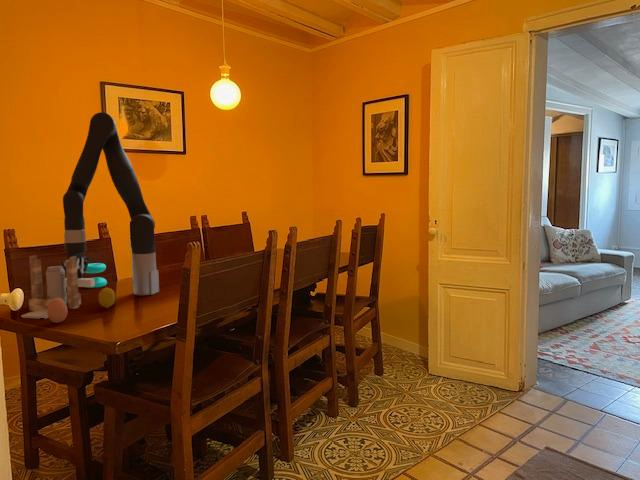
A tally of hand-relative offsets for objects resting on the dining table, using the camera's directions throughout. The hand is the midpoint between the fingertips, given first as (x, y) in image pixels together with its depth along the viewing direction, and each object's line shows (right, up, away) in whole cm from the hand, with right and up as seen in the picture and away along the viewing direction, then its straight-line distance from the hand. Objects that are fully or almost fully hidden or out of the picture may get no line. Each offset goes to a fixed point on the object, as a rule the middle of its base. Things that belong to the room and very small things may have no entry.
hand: (77, 283), depth 180 cm
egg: (+12, -10, -33) cm, 36 cm away
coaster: (+1, -8, -24) cm, 25 cm away
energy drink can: (0, -8, -13) cm, 15 cm away
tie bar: (0, -1, 0) cm, 1 cm away
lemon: (+19, -8, -15) cm, 26 cm away
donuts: (-5, -4, +23) cm, 24 cm away
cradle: (-1, -7, -13) cm, 15 cm away
